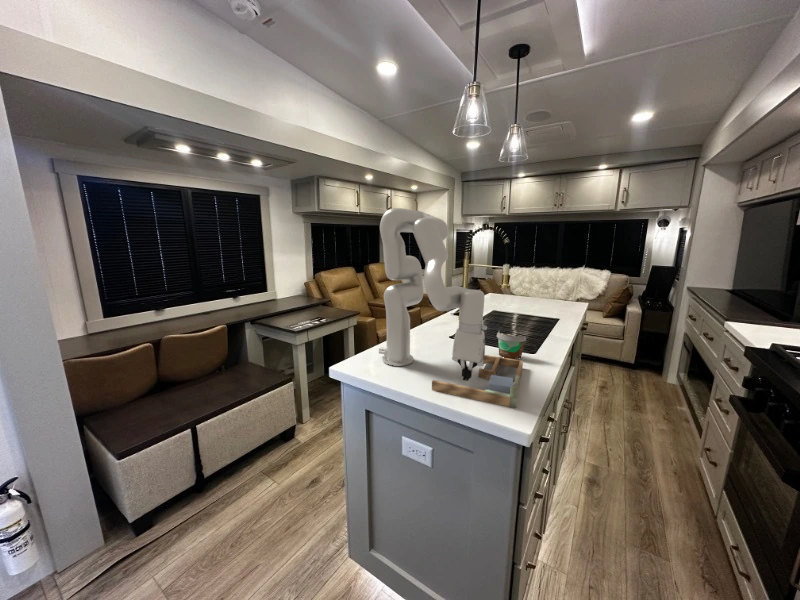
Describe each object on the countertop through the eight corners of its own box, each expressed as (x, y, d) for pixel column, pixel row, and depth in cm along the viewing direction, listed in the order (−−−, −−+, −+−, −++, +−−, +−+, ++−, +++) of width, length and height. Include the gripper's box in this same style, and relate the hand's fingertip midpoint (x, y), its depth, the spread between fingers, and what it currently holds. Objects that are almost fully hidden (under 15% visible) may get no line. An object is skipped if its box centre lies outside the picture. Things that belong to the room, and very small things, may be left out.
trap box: (431, 390, 100) (431, 373, 99) (457, 357, 130) (458, 343, 128) (515, 408, 89) (517, 389, 88) (523, 368, 119) (524, 353, 117)
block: (488, 395, 98) (489, 383, 97) (490, 385, 104) (490, 374, 104) (512, 399, 96) (512, 387, 95) (512, 389, 102) (512, 377, 101)
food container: (490, 355, 132) (491, 333, 130) (496, 351, 137) (498, 330, 135) (518, 362, 124) (520, 339, 122) (524, 358, 128) (526, 335, 126)
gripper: (495, 327, 101) (490, 379, 105) (451, 321, 107) (448, 370, 111) (491, 333, 94) (486, 388, 98) (444, 326, 100) (441, 378, 104)
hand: (466, 378), depth 104 cm, fingers closed
